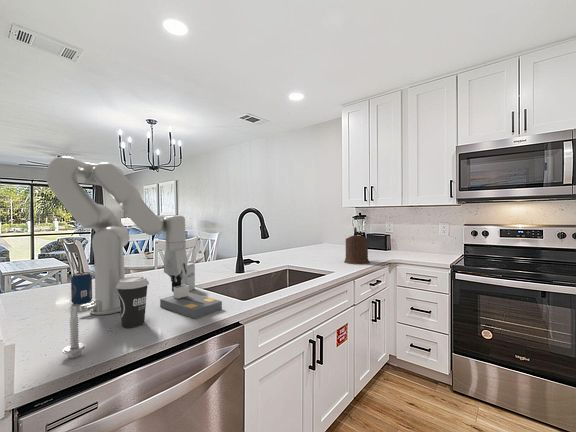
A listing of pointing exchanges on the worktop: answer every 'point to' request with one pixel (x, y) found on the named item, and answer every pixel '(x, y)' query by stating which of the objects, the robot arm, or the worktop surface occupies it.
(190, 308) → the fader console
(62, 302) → the worktop surface
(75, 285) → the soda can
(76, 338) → the screw
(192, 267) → the supplement box
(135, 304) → the coffee cup
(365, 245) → the dark brown bell
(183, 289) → the fader knob
